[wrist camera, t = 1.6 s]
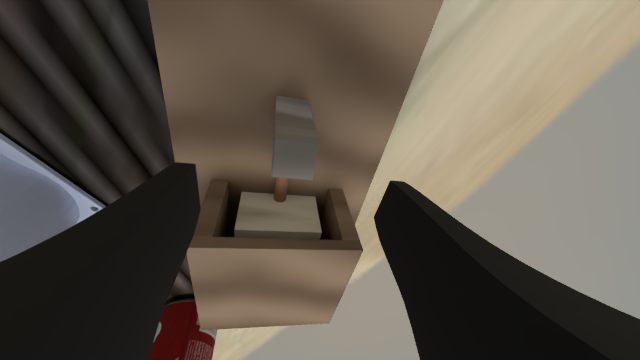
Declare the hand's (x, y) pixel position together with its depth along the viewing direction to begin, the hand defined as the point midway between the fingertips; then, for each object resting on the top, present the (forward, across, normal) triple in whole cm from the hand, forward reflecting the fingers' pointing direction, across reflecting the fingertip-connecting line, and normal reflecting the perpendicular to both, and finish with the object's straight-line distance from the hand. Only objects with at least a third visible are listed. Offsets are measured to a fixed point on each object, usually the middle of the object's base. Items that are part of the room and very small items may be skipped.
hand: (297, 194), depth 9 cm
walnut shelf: (+9, 0, +3) cm, 10 cm away
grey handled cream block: (+8, 0, +6) cm, 10 cm away
